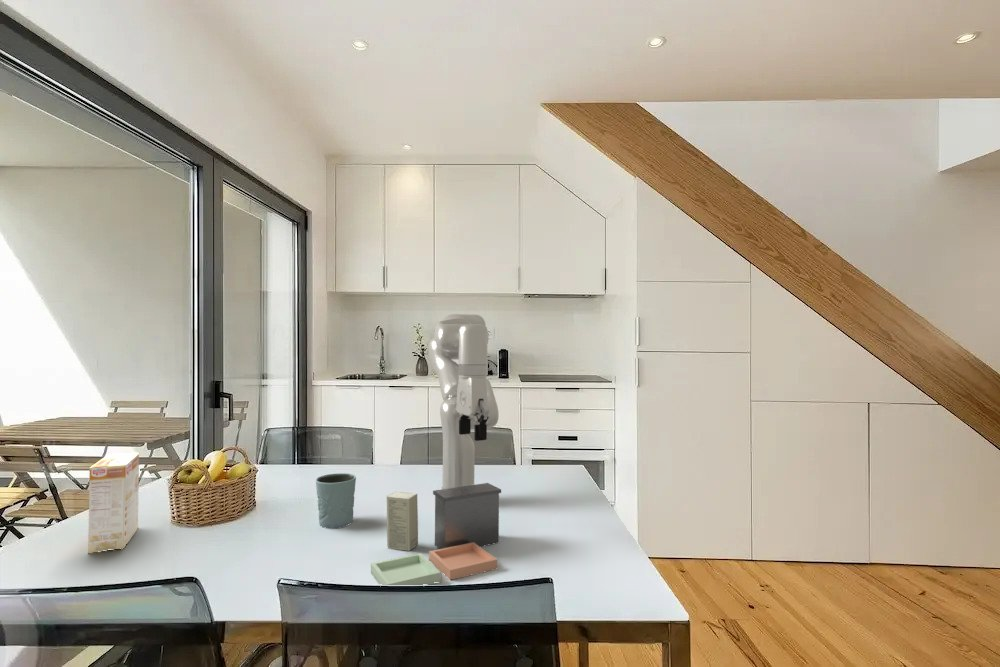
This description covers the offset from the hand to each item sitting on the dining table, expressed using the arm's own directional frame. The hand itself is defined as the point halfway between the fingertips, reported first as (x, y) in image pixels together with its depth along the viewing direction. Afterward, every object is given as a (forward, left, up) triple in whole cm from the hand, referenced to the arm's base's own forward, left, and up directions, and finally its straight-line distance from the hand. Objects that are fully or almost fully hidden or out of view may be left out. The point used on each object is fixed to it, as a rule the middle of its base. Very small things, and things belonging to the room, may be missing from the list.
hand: (472, 437), depth 137 cm
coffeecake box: (-33, -79, -24) cm, 89 cm away
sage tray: (+20, -25, -24) cm, 39 cm away
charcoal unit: (+10, -6, -24) cm, 26 cm away
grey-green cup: (-20, -30, -24) cm, 43 cm away
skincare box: (+4, -20, -24) cm, 31 cm away
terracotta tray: (+20, -12, -24) cm, 33 cm away
